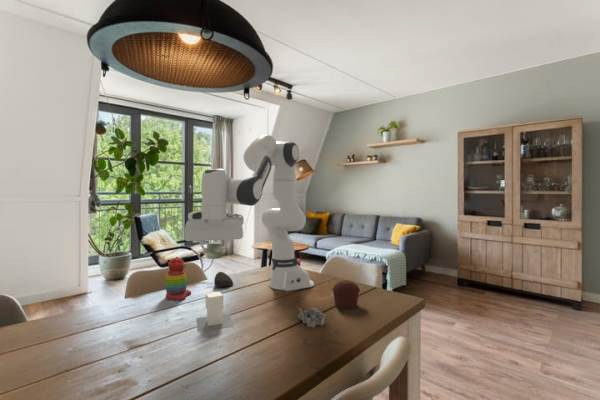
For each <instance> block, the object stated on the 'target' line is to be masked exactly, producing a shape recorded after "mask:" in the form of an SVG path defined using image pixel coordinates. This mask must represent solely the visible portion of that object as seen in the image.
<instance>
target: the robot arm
mask: <svg viewBox="0 0 600 400" xmlns="http://www.w3.org/2000/svg"><path fill="white" fill-rule="evenodd" d="M299 157H300V149H299V146H298V145H297V144H296V143H295V142H293V141H276V139H275V138H274V137H273V136H272V135H270V134H262V135H260V136H258V137H257V138H256V139H254V140H253V141H252V142H251V143H250V145H249V146H248V147H247V148H246V149H245V151H244V153H243V161H244V164H245V165H246V167H247V168H248V169H250V171H252V172H253V174H252V176H250V177H245V178H231V177H230V176H229V175H228V174H227V173H226V170H225V169H223V168H210V169H206V170H204V172H203V173H202V175H201V177H202V178H201V185H200V187H201V188H200V189H201V191H200V193H201V198H202V200H201V205H200V206H201V208H200V209H197V210H195V211H192V212H189V213H188V215H187V218H188V220H187V221H186V223H185V227H184V232H183V233H184V235H183V236H184V237H183V239H184V241H186V242H198V241H199V243H198V244H199V245H200V247H201V248H202V254H207V247H205V246H204V243H205V241H222V240H223V241H224V245H223V246H221V253H226V252H227V250H226V249H227V247H228V244H229V243H230V240H242V239H243V237H244V231H243V230H244V229H243V225H244V222H245V221H244V216H243V215H242V214H240V213H228V205H243V206H250V207H251V206H255V205H256V204H257V203H258V202H259V201H260V200H261V198H262V195H263V190H264V187H265V185H266V182H267V179H268V178H269V175H270V174H271V173H270V172H271V170H272V166H274V169H273V177H272V178H273V179H272V181H273V182H272V183H273V184H272V196H273V198H274V199H275V200H276V201H277V203H278V206H279V207H272V208H269V209H266V210H264V211H263V213H262V215H261V222H262V225H263V226H264V227H265V228H266V230H267V232H268V233H269V236H270V239H271V250H272V251H271V253H272V255H271V256H272V257H271V261H270V263H271V265H270V266H271V277H270V281H269V284H268V285H269V288H271V289H275V290H280V291H284V292H285V291H286V292H291V291H296V290H297V291H298V290H301V289H302V290H303V289H307V288H313V287H314V286H315V283H314V281H313V280H311V278H310V275H309V273H308V271H307V270H306V269H304V268H303V267H302V266H300V265H299V264H301V263H302V260H301V259H300V258H297V257H295V241H294V240H293V239H292V238H291V237H290V236H289V233H288V232H296V231H302V230H303V228H304V227H305V225H306V223H307V219H306V214H305V213H304V212H303V211H302V210H301V208H300V207H299V204H298V202H297V197H296V170H295V164H296V163H297V161H298V160H299Z"/></svg>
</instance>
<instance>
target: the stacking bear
mask: <svg viewBox="0 0 600 400" xmlns="http://www.w3.org/2000/svg"><path fill="white" fill-rule="evenodd" d="M186 266H187V265H186V262H185V261H184V260H183V259H182V258H181V257H179V256H175V257H173V258H171V259H169V261H168V270H169V271H167V273H166V276H165V280H164V288H165V291H166V294H165V299H166V300H169V301H173V302H175V301H177V302H178V301H184V300H186V298H187V297H188V296H190V295H191V294H192V291H191V290H189V289H187V285H188V277H187V274H186V271H185V270H184V269H185V267H186Z"/></svg>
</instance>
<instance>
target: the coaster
mask: <svg viewBox="0 0 600 400" xmlns="http://www.w3.org/2000/svg"><path fill="white" fill-rule="evenodd" d="M232 320H233V319H232V317H231V314H230V313H228V314H227V313H225V314H222V324H218V325H211V326H208V324H207V316H203V317H196V330H197V333H198V332H206V331H212V330H213V331H214V330H218V329H226V328H234V324H233V321H232Z"/></svg>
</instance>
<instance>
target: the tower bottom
mask: <svg viewBox="0 0 600 400" xmlns="http://www.w3.org/2000/svg"><path fill="white" fill-rule="evenodd" d="M222 315H223V309H222V310H217V311H212V312H209V311H208V310H207V309H206V317H207V324H208V326H211V325H218V324H222Z"/></svg>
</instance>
